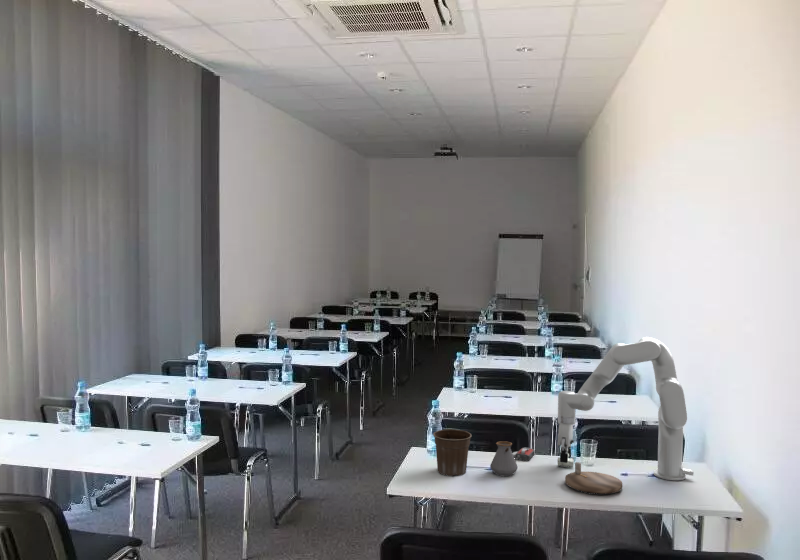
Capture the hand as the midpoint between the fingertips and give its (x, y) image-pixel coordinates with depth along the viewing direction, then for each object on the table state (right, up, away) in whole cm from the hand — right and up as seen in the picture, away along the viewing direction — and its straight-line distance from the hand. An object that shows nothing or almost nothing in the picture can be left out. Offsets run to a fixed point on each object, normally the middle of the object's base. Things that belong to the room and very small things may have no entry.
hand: (565, 459), depth 287 cm
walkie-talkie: (-17, -3, +11) cm, 21 cm away
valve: (0, -3, 0) cm, 3 cm away
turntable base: (+5, -4, -25) cm, 26 cm away
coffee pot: (-29, -3, -15) cm, 33 cm away
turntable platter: (+5, -3, -25) cm, 26 cm away
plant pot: (-51, -3, -9) cm, 52 cm away
